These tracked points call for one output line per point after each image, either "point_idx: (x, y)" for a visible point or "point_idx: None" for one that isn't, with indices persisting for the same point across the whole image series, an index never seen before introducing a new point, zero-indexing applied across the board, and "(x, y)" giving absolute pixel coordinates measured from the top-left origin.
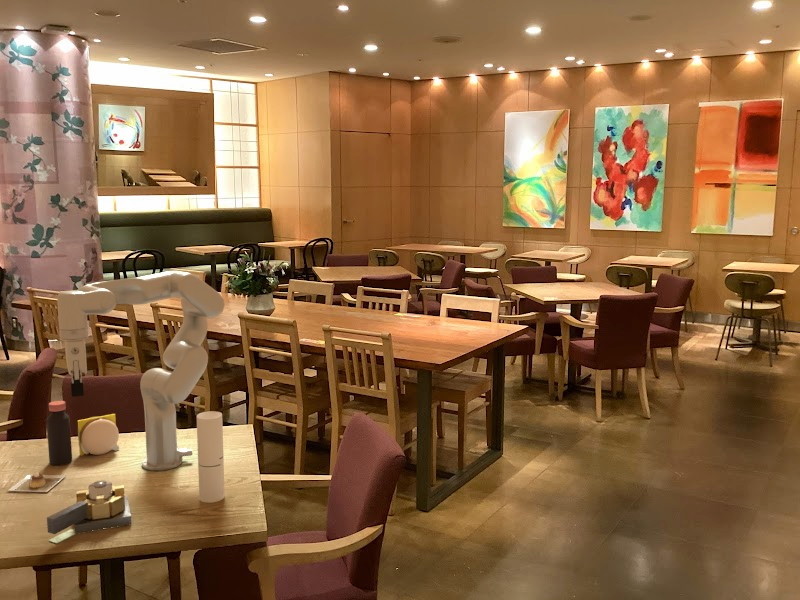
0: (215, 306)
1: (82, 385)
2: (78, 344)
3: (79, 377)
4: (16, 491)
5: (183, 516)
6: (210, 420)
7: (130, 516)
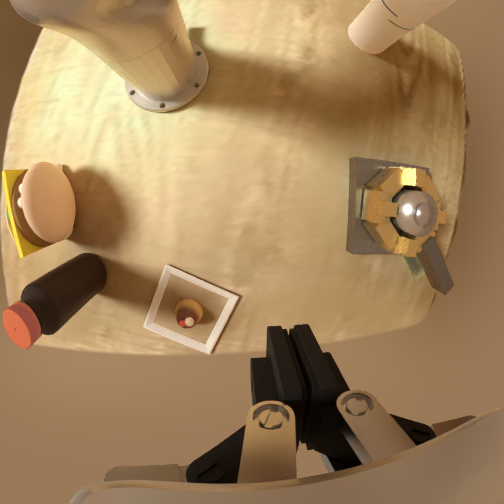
0: None
1: (327, 372)
2: None
3: (434, 435)
4: (212, 341)
5: (417, 95)
6: None
7: (428, 169)
